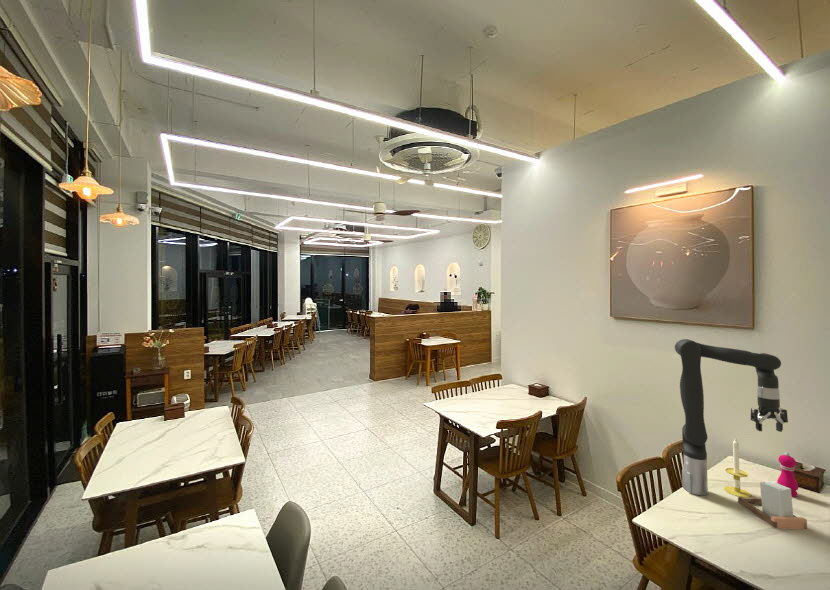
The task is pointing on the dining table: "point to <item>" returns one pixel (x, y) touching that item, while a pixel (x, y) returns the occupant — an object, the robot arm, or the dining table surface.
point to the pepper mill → (788, 473)
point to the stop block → (790, 522)
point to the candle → (736, 474)
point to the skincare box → (776, 499)
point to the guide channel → (748, 503)
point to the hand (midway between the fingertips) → (769, 431)
